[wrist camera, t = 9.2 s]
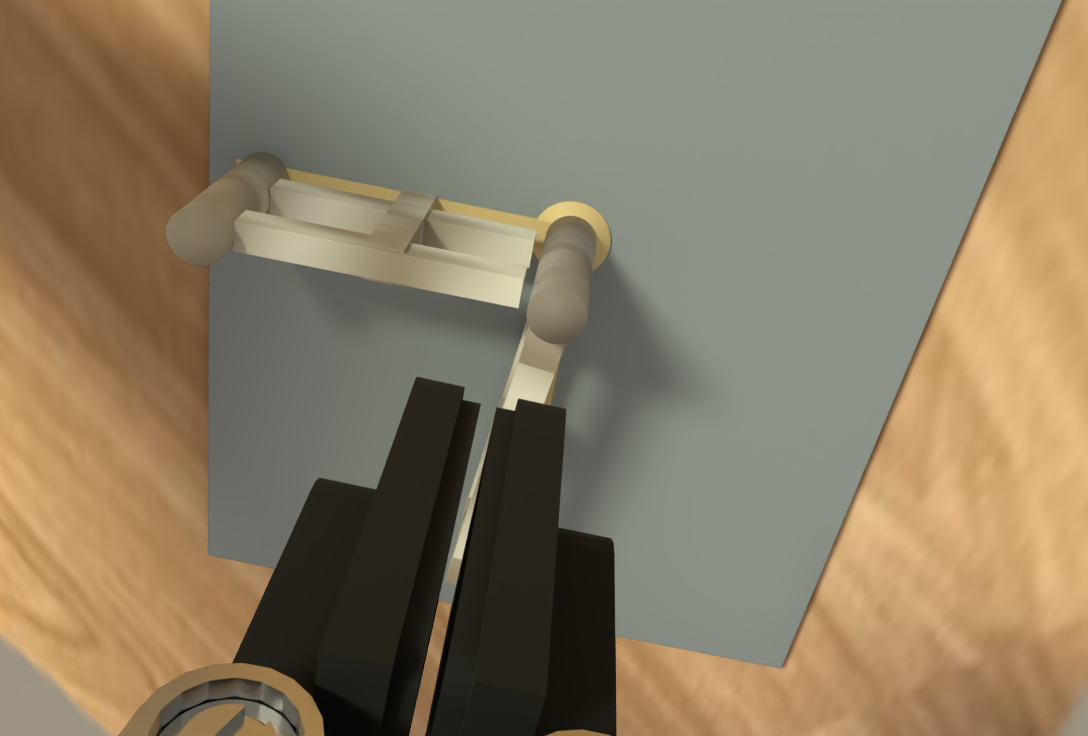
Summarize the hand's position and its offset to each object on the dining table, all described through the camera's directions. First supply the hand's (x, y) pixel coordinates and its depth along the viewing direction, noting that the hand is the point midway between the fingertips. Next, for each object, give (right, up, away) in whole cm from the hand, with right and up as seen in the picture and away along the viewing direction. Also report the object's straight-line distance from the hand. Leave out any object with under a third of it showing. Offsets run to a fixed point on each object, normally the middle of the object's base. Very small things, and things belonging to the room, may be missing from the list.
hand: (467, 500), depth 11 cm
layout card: (+1, +4, +25) cm, 25 cm away
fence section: (-4, +7, +23) cm, 24 cm away
